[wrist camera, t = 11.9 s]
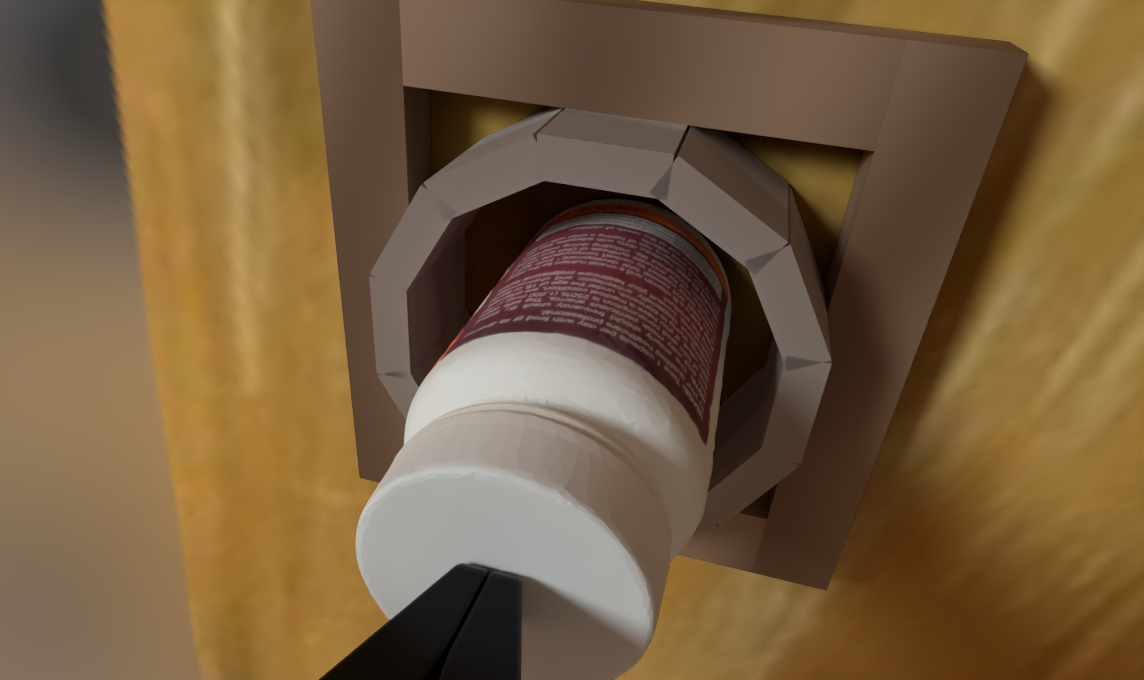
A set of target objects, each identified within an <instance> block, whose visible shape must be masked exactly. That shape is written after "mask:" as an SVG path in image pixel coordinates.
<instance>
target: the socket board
mask: <svg viewBox="0 0 1144 680" xmlns="http://www.w3.org/2000/svg"><path fill="white" fill-rule="evenodd" d="M311 7H312V17H313V27H314V36H315V46H316V56H317V66H318V75H319V85H320V95H321V105H322V114H323V124H324V134H325V144H326V154H327V163H328V173H329V183H330V193H331V202H332V212H333V222H334V232H335V242H336V251H337V261H338V271H339V281H340V290H341V300H342V310H343V320H344V329H345V339H346V349H347V359H348V369H349V378H350V388H351V398H352V408H353V417H354V427H355V437H356V447H357V456H358V466H359V476H360V478H363V479H367V480H372V481H376V482H381V480H382V479H383V477H384V476H385V474H386V473H387V471H388V470H389V468H390V466H391V464H392V462H393V461H394V459H395V457H396V455H397V454H398V453H399V451H400V450H401V449H402V447H403V446H404V433H405V425H406V420H407V415H408V411H409V408H410V405H411V402H412V400H413V398H414V396H415V394H416V392H417V390H418V389H419V387H420V385H421V383H422V382H423V380H424V379H425V377H426V376H427V375H428V373H429V372H430V371H431V369H432V368H433V367H434V365H435V364H436V363H437V361H438V360H439V359H440V357H441V356H442V355H443V354H444V353H445V352H446V351H447V349H448V347H449V346H450V344H451V343H452V341H453V340H454V339H455V338H456V337H457V335H458V334H459V332H460V331H461V329H462V328H463V327H465V326H466V324H467V323H468V322H469V320H470V319H471V316H470V314H469V312H468V311H467V309H466V307H465V232H466V230H467V229H468V227H469V226H470V224H471V223H472V221H473V219H474V218H475V216H476V215H477V213H478V212H479V210H480V209H481V207H482V206H484V205H486V204H489V203H491V202H494V201H496V200H499V199H501V198H503V197H506V196H508V195H511V194H513V193H516V192H518V191H521V190H523V189H525V188H528V187H530V186H533V185H535V184H538V183H540V182H543V181H549V182H555V183H561V184H568V185H574V186H580V187H587V188H593V189H599V190H606V191H612V192H618V193H625V194H631V195H637V196H644V197H650V198H656V199H658V200H660V201H661V202H662V203H663V204H665V205H666V206H667V207H669V208H670V209H671V210H672V211H674V212H675V213H676V214H678V215H679V216H680V217H682V218H683V219H684V220H685V221H687V222H688V223H689V224H691V225H692V226H693V227H694V228H696V229H697V230H698V231H700V232H701V233H702V234H703V235H705V236H706V237H707V238H709V239H710V240H711V241H712V242H714V243H715V244H716V245H718V246H719V247H720V248H722V249H723V250H724V251H725V252H727V253H728V254H729V255H731V256H732V257H733V258H734V259H736V260H737V261H738V262H740V263H741V264H742V265H743V266H745V267H746V268H747V269H748V270H749V273H750V275H751V278H752V281H753V283H754V286H755V288H756V291H757V294H758V296H759V299H760V302H761V304H762V307H763V309H764V312H765V315H766V317H767V320H768V322H769V325H770V328H771V330H772V333H773V337H772V341H771V345H770V349H769V353H768V357H767V361H766V364H765V365H764V366H763V367H762V368H761V369H760V370H759V371H758V372H757V373H756V374H754V375H753V376H752V377H751V378H750V379H749V380H748V381H747V382H746V383H745V384H743V385H742V386H741V387H740V388H739V389H738V390H737V391H736V392H735V393H734V394H732V395H731V396H730V397H729V398H728V399H727V400H726V401H725V402H724V403H722V404H721V405H720V406H719V413H718V420H717V428H716V433H715V450H714V453H713V467H712V476H711V480H710V484H709V488H708V492H707V502H706V507H705V510H704V514H703V518H702V519H701V521H700V523H699V525H698V527H697V528H696V530H695V532H694V534H693V536H692V537H691V539H690V540H689V542H688V543H687V544H686V546H685V547H684V548H683V549H682V551H681V552H680V553H679V554H678V555H682V556H686V557H690V558H694V559H698V560H703V561H707V562H711V563H715V564H719V565H723V566H727V567H732V568H736V569H740V570H744V571H748V572H752V573H756V574H761V575H765V576H769V577H773V578H777V579H781V580H785V581H790V582H794V583H798V584H802V585H806V586H810V587H814V588H818V589H823V590H827V588H828V586H829V583H830V580H831V578H832V575H833V572H834V570H835V567H836V564H837V562H838V559H839V556H840V554H841V551H842V548H843V546H844V543H845V540H846V538H847V535H848V532H849V530H850V527H851V524H852V522H853V519H854V517H855V514H856V511H857V509H858V506H859V503H860V501H861V498H862V495H863V493H864V490H865V487H866V485H867V482H868V479H869V477H870V474H871V471H872V469H873V466H874V463H875V461H876V458H877V455H878V453H879V450H880V448H881V445H882V442H883V440H884V437H885V434H886V432H887V429H888V426H889V424H890V421H891V418H892V416H893V413H894V410H895V408H896V405H897V402H898V400H899V397H900V394H901V392H902V389H903V386H904V384H905V381H906V379H907V376H908V373H909V371H910V368H911V365H912V363H913V360H914V357H915V355H916V352H917V349H918V347H919V344H920V341H921V339H922V336H923V333H924V331H925V328H926V325H927V323H928V320H929V317H930V315H931V312H932V310H933V307H934V304H935V302H936V299H937V296H938V294H939V291H940V288H941V286H942V283H943V280H944V278H945V275H946V272H947V270H948V267H949V264H950V262H951V259H952V256H953V254H954V251H955V248H956V246H957V243H958V240H959V238H960V235H961V233H962V230H963V227H964V225H965V222H966V219H967V217H968V214H969V211H970V209H971V206H972V203H973V201H974V198H975V195H976V193H977V190H978V187H979V185H980V182H981V179H982V177H983V174H984V171H985V169H986V166H987V164H988V161H989V158H990V156H991V153H992V150H993V148H994V145H995V142H996V140H997V137H998V134H999V132H1000V129H1001V126H1002V124H1003V121H1004V118H1005V116H1006V113H1007V110H1008V108H1009V105H1010V102H1011V100H1012V97H1013V95H1014V92H1015V89H1016V87H1017V84H1018V81H1019V79H1020V76H1021V73H1022V71H1023V68H1024V65H1025V63H1026V60H1027V57H1028V55H1029V53H1027V52H1025V51H1024V50H1022V49H1020V48H1019V47H1017V46H1015V45H1014V44H1012V43H1010V42H1007V41H998V40H989V39H980V38H971V37H962V36H953V35H944V34H935V33H926V32H917V31H908V30H899V29H890V28H881V27H872V26H863V25H854V24H845V23H836V22H827V21H818V20H809V19H800V18H791V17H782V16H773V15H764V14H755V13H746V12H737V11H728V10H719V9H710V8H701V7H692V6H683V5H674V4H665V3H656V2H647V1H638V0H311ZM430 89H431V90H438V91H446V92H453V93H460V94H467V95H474V96H481V97H489V98H496V99H503V100H510V101H517V102H524V103H532V104H539V105H546V106H552V107H549V108H547V109H545V110H543V111H541V112H538V113H536V114H534V115H532V116H530V117H527V118H525V119H523V120H521V121H519V122H516V123H514V124H512V125H510V126H508V127H505V128H503V129H501V130H499V131H497V132H494V133H492V134H490V135H488V136H486V137H484V138H482V139H481V140H480V141H478V142H477V143H476V144H474V145H473V146H472V147H470V148H469V149H468V150H466V151H465V152H464V153H462V154H461V155H460V156H458V157H457V158H456V159H454V160H453V161H452V162H450V163H449V164H448V165H446V166H445V167H444V168H442V169H441V170H440V171H438V172H437V173H436V174H434V175H433V176H432V155H431V117H430ZM723 130H725V131H733V132H740V133H747V134H754V135H761V136H768V137H776V138H783V139H790V140H797V141H804V142H811V143H819V144H826V145H833V146H840V147H847V148H854V149H862V150H863V153H862V157H861V160H860V164H859V167H858V171H857V174H856V178H855V181H854V185H853V188H852V192H851V195H850V199H849V202H848V206H847V209H846V213H845V216H844V220H843V224H842V227H841V231H840V234H839V238H838V241H837V245H836V248H835V252H834V255H833V259H832V262H831V266H830V269H829V273H828V276H827V280H826V283H825V287H824V282H823V279H822V277H821V274H820V271H819V268H818V265H817V262H816V259H815V256H814V253H813V250H812V247H811V245H810V242H809V239H808V236H807V233H806V230H805V227H804V224H803V221H802V218H801V215H800V212H799V210H798V207H797V204H796V201H795V198H794V195H793V192H792V189H791V186H788V182H787V181H785V180H784V179H783V178H782V177H780V176H779V175H778V174H777V173H775V172H774V171H773V170H772V169H770V168H769V167H768V166H767V165H765V164H764V163H763V162H762V161H760V160H759V159H758V158H757V157H755V156H754V155H753V154H752V153H750V152H749V151H748V150H746V149H745V148H744V147H743V146H741V145H740V144H739V143H738V142H736V141H735V140H734V139H733V138H731V137H730V136H729V135H728V134H726V133H725V132H724V131H723Z"/></svg>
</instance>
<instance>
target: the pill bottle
mask: <svg viewBox="0 0 1144 680" xmlns="http://www.w3.org/2000/svg"><path fill="white" fill-rule="evenodd" d="M730 319H731V295H730V288H729V284H728V279H727V276H726V274H725V271H724V269H723V266H722V264H721V262H720V260H719V258H718V256H717V255H716V253H715V252H714V250H713V249H712V248H711V246H710V245H709V243H708V242H707V241H706V240H705V239H704V237H703V236H702V235H701V234H700V233H699V232H698V231H696V230H695V229H694V228H693V227H692V226H690V225H689V224H688V223H687V222H685V221H684V220H682V219H681V218H679V217H678V216H677V215H675V214H673V213H671V212H670V211H667V210H665V209H662V208H659V207H657V206H654V205H652V204H649V203H644V202H640V201H635V200H624V199H601V200H593V201H589V202H585V203H582V204H579V205H576V206H573V207H571V208H569V209H567V210H565V211H563V212H561V213H560V214H558V215H556V216H555V217H554V218H552V219H551V220H550V221H548V222H547V223H546V224H545V225H544V226H543V227H542V228H541V229H540V230H539V231H538V232H537V233H536V234H535V236H534V237H533V238H532V239H531V240H530V242H529V243H528V244H527V246H526V247H525V248H524V249H523V251H522V252H521V253H520V255H519V256H518V257H517V258H516V260H515V261H514V262H513V263H512V265H511V266H510V267H509V268H508V269H507V270H506V272H505V273H504V275H503V276H502V277H501V279H500V281H499V282H498V283H497V285H496V286H495V287H494V288H493V289H492V291H491V292H490V293H489V295H488V296H487V297H486V299H485V300H484V301H483V302H482V304H481V305H480V306H479V308H478V309H477V311H476V312H475V313H474V315H473V316H472V317H471V319H470V320H469V322H468V323H467V324H466V326H465V327H463V328H462V329H461V331H460V332H459V334H458V335H457V337H456V338H455V339H454V340H453V341H452V343H451V344H450V346H449V347H448V349H447V351H446V352H445V353H444V354H443V355H442V356H441V357H440V359H439V360H438V361H437V363H436V364H435V365H434V367H433V368H432V369H431V371H430V372H429V373H428V375H427V376H426V377H425V379H424V380H423V382H422V383H421V385H420V387H419V389H418V390H417V392H416V394H415V396H414V398H413V400H412V402H411V405H410V408H409V411H408V415H407V420H406V425H405V433H404V446H403V447H402V449H401V450H400V451H399V453H398V454H397V455H396V457H395V459H394V461H393V462H392V464H391V466H390V468H389V470H388V471H387V473H386V474H385V476H384V477H383V479H382V480H381V482H380V483H379V485H378V486H377V488H376V489H375V491H374V492H373V494H372V495H371V497H370V498H369V500H368V502H367V504H366V506H365V508H364V510H363V512H362V514H361V516H360V519H359V522H358V526H357V532H356V556H357V561H358V564H359V569H360V572H361V575H362V577H363V579H364V581H365V583H366V585H367V588H368V590H369V592H370V593H371V595H372V596H373V598H374V599H375V601H376V603H377V604H378V606H379V607H380V608H381V610H382V611H383V612H384V614H385V615H386V617H388V618H389V619H390V620H391V619H392V618H393V617H394V616H395V615H397V614H398V613H399V612H400V611H401V610H403V609H404V608H405V607H406V606H407V605H409V604H410V603H411V602H412V601H413V600H415V599H416V598H417V597H418V596H419V595H421V594H422V593H423V592H424V591H425V590H426V589H428V588H429V587H430V586H431V585H432V584H434V583H435V582H436V581H437V580H438V579H440V578H441V577H442V576H443V575H444V574H446V573H447V572H448V571H449V570H450V569H452V568H453V567H454V566H455V565H457V564H460V563H466V564H470V565H474V566H478V567H482V568H485V569H487V570H488V571H489V572H490V574H491V573H492V572H494V571H498V572H502V573H506V574H510V575H514V576H518V577H520V578H521V580H522V656H521V680H613V679H615V678H618V677H619V676H620V675H622V674H624V673H625V672H627V671H628V670H630V669H631V668H632V667H633V666H634V665H635V664H636V663H637V662H638V661H639V660H640V658H641V657H642V656H643V654H644V652H645V651H646V649H647V647H648V645H649V644H650V642H651V639H652V637H653V634H654V631H655V628H656V625H657V621H658V616H659V612H660V607H661V603H662V598H663V593H664V589H665V584H666V579H667V575H668V572H669V568H670V562H671V561H672V560H673V559H674V558H675V557H676V556H677V555H678V554H679V553H680V552H681V551H682V549H683V548H684V547H685V546H686V544H687V543H688V542H689V540H690V539H691V537H692V536H693V534H694V532H695V530H696V528H697V527H698V525H699V523H700V521H701V519H702V518H703V514H704V510H705V507H706V502H707V492H708V488H709V484H710V480H711V476H712V467H713V453H714V450H715V433H716V428H717V420H718V413H719V404H720V396H721V389H722V378H723V372H724V363H725V355H726V347H727V342H728V337H729V332H730Z"/></svg>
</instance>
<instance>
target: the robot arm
mask: <svg viewBox="0 0 1144 680" xmlns="http://www.w3.org/2000/svg"><path fill="white" fill-rule="evenodd" d="M521 656H522V580H521V578H520V577H518V576H514V575H510V574H506V573H502V572H498V571H494V572H492V573H491V574H490V572H489V571H488V570H487V569H485V568H482V567H478V566H474V565H470V564H466V563H460V564H457V565H455V566H454V567H453V568H452V569H450V570H449V571H448V572H447V573H446V574H444V575H443V576H442V577H441V578H440V579H438V580H437V581H436V582H435V583H434V584H432V585H431V586H430V587H429V588H428V589H426V590H425V591H424V592H423V593H422V594H421V595H419V596H418V597H417V598H416V599H415V600H413V601H412V602H411V603H410V604H409V605H407V606H406V607H405V608H404V609H403V610H401V611H400V612H399V613H398V614H397V615H395V616H394V617H393V618H392V619H391V620H389V621H388V622H387V623H386V624H385V625H383V626H382V627H381V628H380V629H379V630H378V631H376V632H375V633H374V634H373V635H372V636H370V637H369V638H368V639H367V640H366V641H364V642H363V643H362V644H361V645H360V646H358V647H357V648H356V649H355V650H354V651H352V652H351V653H350V654H349V655H348V656H346V657H345V658H344V659H343V660H342V661H340V662H339V663H338V664H337V665H336V666H334V667H333V668H332V669H331V670H330V671H329V672H327V673H326V674H325V675H324V676H323V677H321V678H320V679H319V680H521Z"/></svg>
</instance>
